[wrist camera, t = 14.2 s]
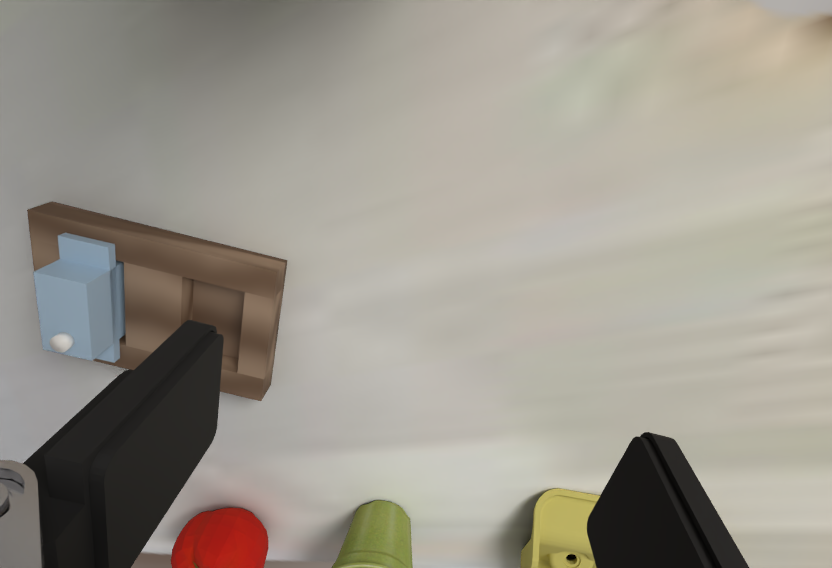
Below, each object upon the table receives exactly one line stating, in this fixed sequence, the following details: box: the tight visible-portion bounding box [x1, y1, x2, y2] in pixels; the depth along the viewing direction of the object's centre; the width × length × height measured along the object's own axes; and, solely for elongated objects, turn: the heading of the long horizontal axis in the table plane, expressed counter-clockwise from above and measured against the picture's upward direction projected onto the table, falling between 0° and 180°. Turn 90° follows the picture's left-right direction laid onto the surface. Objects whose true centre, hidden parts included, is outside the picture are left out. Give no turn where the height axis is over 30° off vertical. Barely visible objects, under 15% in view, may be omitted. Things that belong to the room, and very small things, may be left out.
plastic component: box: [521, 488, 600, 568], centre depth 49 cm, size 20×7×10 cm
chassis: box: [27, 202, 287, 401], centre depth 42 cm, size 13×20×3 cm, turn 77°
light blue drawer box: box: [33, 233, 126, 363], centre depth 40 cm, size 11×4×6 cm, turn 167°
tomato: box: [171, 508, 268, 568], centre depth 51 cm, size 9×9×8 cm
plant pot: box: [332, 500, 413, 568], centre depth 49 cm, size 9×9×9 cm
